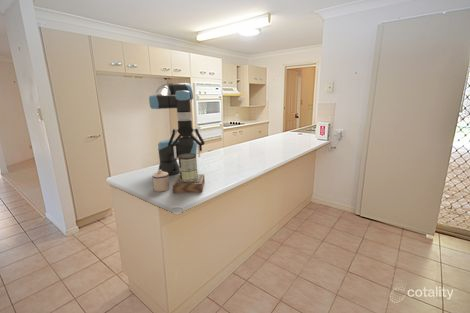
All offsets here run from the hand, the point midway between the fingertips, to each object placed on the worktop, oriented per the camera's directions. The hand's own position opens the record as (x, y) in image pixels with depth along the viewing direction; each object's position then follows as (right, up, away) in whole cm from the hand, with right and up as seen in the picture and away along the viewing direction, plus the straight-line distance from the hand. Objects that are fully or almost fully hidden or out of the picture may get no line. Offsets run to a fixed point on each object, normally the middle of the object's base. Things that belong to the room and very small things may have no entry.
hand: (187, 157), depth 131 cm
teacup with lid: (-16, -19, +4) cm, 25 cm away
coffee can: (0, -13, +3) cm, 13 cm away
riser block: (+1, -18, +4) cm, 18 cm away
